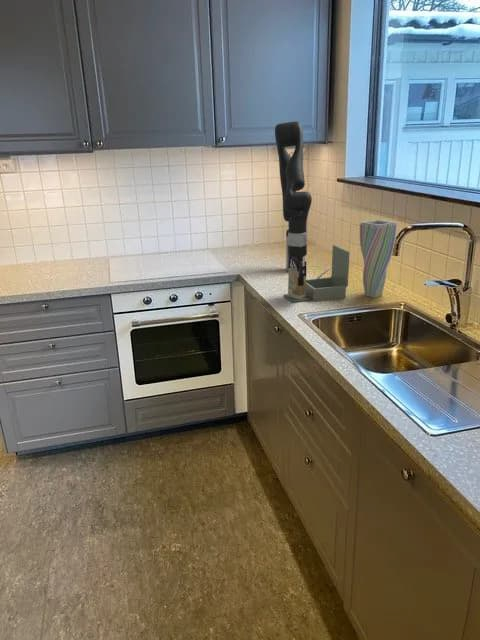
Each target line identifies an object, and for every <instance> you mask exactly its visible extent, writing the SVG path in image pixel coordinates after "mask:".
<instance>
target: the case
mask: <svg viewBox="0 0 480 640" xmlns="http://www.w3.org/2000/svg"><path fill="white" fill-rule="evenodd" d="M331 255H332V256H331V265H330V266H329V267H327V269H326V270H324V271H323V272H322V273H320V275H319V276H318V277H316V278H311V279H310V278H308V279H306V295H305V296H307V297H308V298H309V299H311V301H313V302H318V301H319V302H320V301H328V300H334V299H345V298H346V297H347V296H346V295H347V287H348V286H349V275H350V274H349V270H350V269H349V268H350V251H349V250H346V249H344V248H343V247H340V246H338V245H335V244H333V245H332V254H331ZM330 269H331V276H329V277H322V276H323V275H325V274H326V273H327V272H328V271H329V270H330ZM321 277H322V278H321Z"/></svg>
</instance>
